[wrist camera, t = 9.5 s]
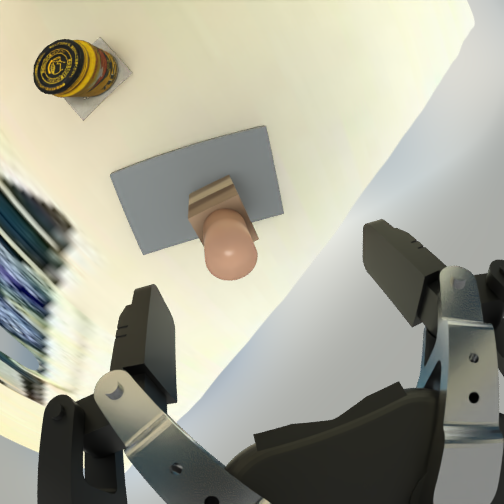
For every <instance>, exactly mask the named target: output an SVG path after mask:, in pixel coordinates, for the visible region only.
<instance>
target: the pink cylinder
mask: <svg viewBox="0 0 504 504" xmlns="http://www.w3.org/2000/svg"><path fill="white" fill-rule="evenodd" d="M203 239H204V251H205V262H206V266H207V268H208V270H209V271H210V273H211V274H213V275H214V276H215V277H217V278H219V279H222V280H237V279H240V278H242V277H244V276H246V275H247V274H249V273H250V272H251V271H252V270H253V268H254V267H255V265H256V262H257V250H256V248H255V245H254V243H253V240H252V238H251V235H250V233H249V230H248V228H247V226H246V223H245V221H244V219H243V217H242V216H241V215H240V214H239V213H238V212H237V211H235V210H232V209H218V210H216V211H214V212H212V213H211V214H210V215H209V216H208V217H207V218H206V219H205V221H204V224H203Z"/></svg>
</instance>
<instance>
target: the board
mask: <svg viewBox="0 0 504 504" xmlns="http://www.w3.org/2000/svg"><path fill="white" fill-rule="evenodd" d="M227 175H229V176H230V178H231V180H232V182H233V184H234V186H235V188H236V190H237V192H238V195H239V197H240V199H241V201H242V203H243V205H244V207H245V209H246V212H247V214H248V216H249V218H250V220H251V223H252V222H255V221H259V220H262V219H266V218H270V217H273V216H277V215H280V214H284V212H283V207H282V201H281V196H280V191H279V186H278V181H277V176H276V171H275V166H274V161H273V157H272V152H271V147H270V142H269V138H268V133H267V129H266V126H260V127H256V128H251V129H247V130H243V131H239V132H235V133H231V134H227V135H223V136H220V137H216V138H212V139H209V140H205V141H202V142H199V143H195V144H192V145H189V146H185V147H182V148H179V149H176V150H173V151H170V152H167V153H164V154H161V155H158V156H155V157H152V158H149V159H147V160H144V161H141V162H138V163H136V164H133V165H130V166H128V167H125V168H123V169H120V170H118V171H115V172H113V173H111V174H110V177H111V180H112V182H113V185H114V187H115V190H116V193H117V195H118V198H119V200H120V203H121V205H122V207H123V210H124V212H125V215H126V217H127V220H128V222H129V224H130V227H131V229H132V231H133V233H134V236H135V238H136V240H137V242H138V245H139V247H140V249H141V251H142V253H143V255H145V254H148V253H152V252H155V251H158V250H161V249H164V248H168V247H171V246H174V245H177V244H181V243H184V242H187V241H191V240H194V239H197V238H199V237H198V236H197V234H196V232H195V230H194V229H193V227H192V225H191V223H190V222H189V220H188V207H189V194H190V193H192V192H194V191H196V190H198V189H200V188H202V187H204V186H207V185H209V184H211V183H213V182H215V181H217V180H219V179H221V178H223V177H225V176H227Z"/></svg>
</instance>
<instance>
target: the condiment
mask: <svg viewBox="0 0 504 504" xmlns="http://www.w3.org/2000/svg"><path fill="white" fill-rule="evenodd" d="M131 74H132V72H131V71H130V70H129V68H128V67H127V66H126V65H125V64H124V63H123V62H122V61H121V59H120V58H119V57H118V56H117V55H116V54H115V53H114V52H113V51H112V50H111V48H110V47H109V46H108V45H107V44H106V43H105V42H104V41H103V40H102V39H101V38H99V39H97V40H96V41H95V42H94V43H93V44H92V45H91V44H90V43H88V42H85V41H82V40H69V39H62V40H57V41H55V42H53V43H52V44H50V45H48V46H47V47H46V48H45V49H44V50H43V51H42V52H41V53H40V55H39V56H38V58H37V60H36V62H35V65H34V73H33V75H34V83H35V85H36V86H37V88H38V89H39V90H40V91H41V92H44V93H45V94H52V95H54V96H57V97H63V98H64V99H65V100H66V101H67V102H68V104H69V105H71V107H72V108H73V109H74V111H75V112H76V113H77V114H78V115H79V116H80V118H81V119H82V120H83V121H84V120H85V118H86V117H87V116H88V115H89V114H90V113H91V112H92V111H93V110H94V109H95V108H96V107H97V106H98V105H99V104H100V103H101V102H102V101H103V100H104V99H105V98H106V97H107V96H108V95H109V94H110V93H111V92H112V91H113V90H114V89H115V88H117V87H118V86H119V85H120V84H121V83H122V82H123V81H124V80H125V79H127V78H128V77H129V76H130V75H131ZM87 97H89V98H87ZM84 98H86V99H84Z"/></svg>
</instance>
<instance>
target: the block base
mask: <svg viewBox="0 0 504 504" xmlns="http://www.w3.org/2000/svg"><path fill="white" fill-rule="evenodd" d="M231 184H233V182H232V180H231V178H230V176H229V175H227V176H225V177H223V178H221V179H219V180H217V181H215V182H213V183H211V184H209V185H207V186H204V187H202V188H200V189H198V190H196V191H194V192H192V193H190V194H189V205H190V204H192V203H194V202H196V201H198V200H200V199H202V198H204V197H206V196H208V195H210V194H212V193H214V192H216V191H218V190H221V189H223V188H225V187H227V186H229V185H231ZM235 189H236V188H235ZM236 191H237V190H236ZM237 193H238V192H237ZM243 206H244V205H243ZM244 208H245V207H244ZM245 210H246V209H245Z"/></svg>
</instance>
